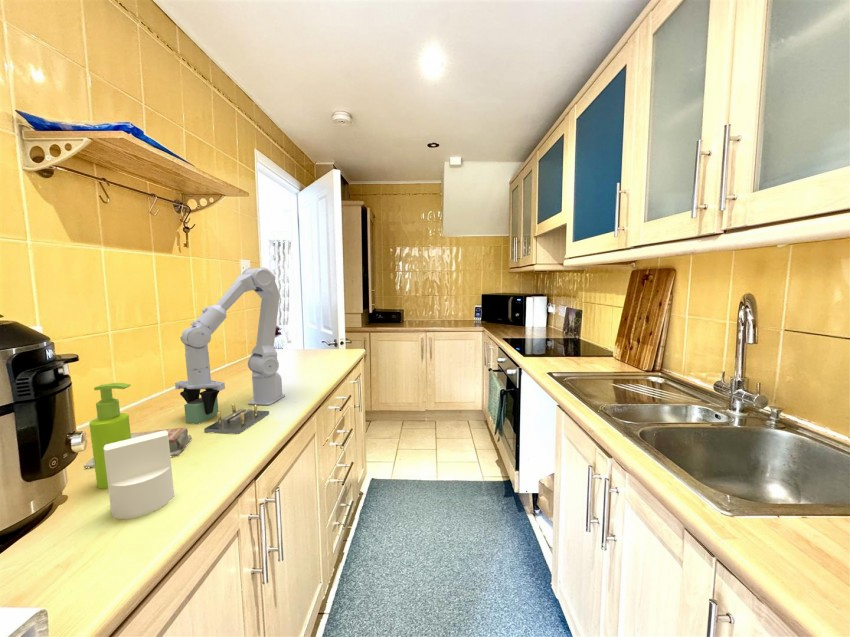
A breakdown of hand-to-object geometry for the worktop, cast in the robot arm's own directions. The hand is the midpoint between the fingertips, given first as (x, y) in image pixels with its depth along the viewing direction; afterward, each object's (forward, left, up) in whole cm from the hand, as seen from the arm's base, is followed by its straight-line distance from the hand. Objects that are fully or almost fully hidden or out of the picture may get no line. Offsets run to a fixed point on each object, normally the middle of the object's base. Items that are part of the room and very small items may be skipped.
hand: (202, 413), depth 105 cm
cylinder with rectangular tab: (+38, +20, -2) cm, 43 cm away
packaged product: (+21, +2, -2) cm, 21 cm away
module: (0, 0, -2) cm, 2 cm away
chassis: (+2, +13, -2) cm, 13 cm away
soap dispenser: (+32, +8, -2) cm, 33 cm away
